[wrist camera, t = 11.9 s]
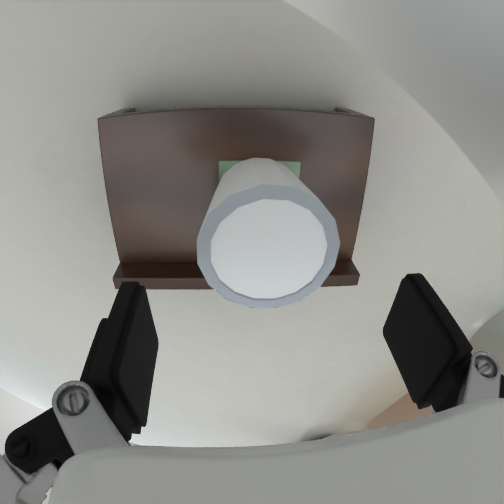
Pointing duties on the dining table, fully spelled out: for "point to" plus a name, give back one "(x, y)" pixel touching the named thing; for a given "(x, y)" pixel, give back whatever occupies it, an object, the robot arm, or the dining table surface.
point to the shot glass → (266, 237)
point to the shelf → (210, 173)
